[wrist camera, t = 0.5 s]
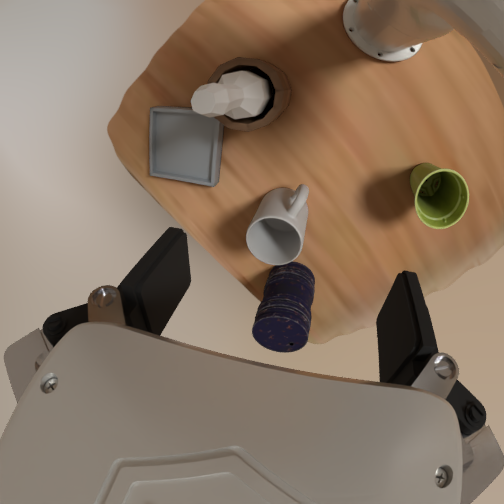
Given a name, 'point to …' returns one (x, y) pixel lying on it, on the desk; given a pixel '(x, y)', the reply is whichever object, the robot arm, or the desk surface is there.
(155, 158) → the tray
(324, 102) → the desk surface
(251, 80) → the faceted bottle
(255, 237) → the mug
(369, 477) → the robot arm
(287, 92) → the holder
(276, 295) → the storage jar
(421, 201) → the plant pot
